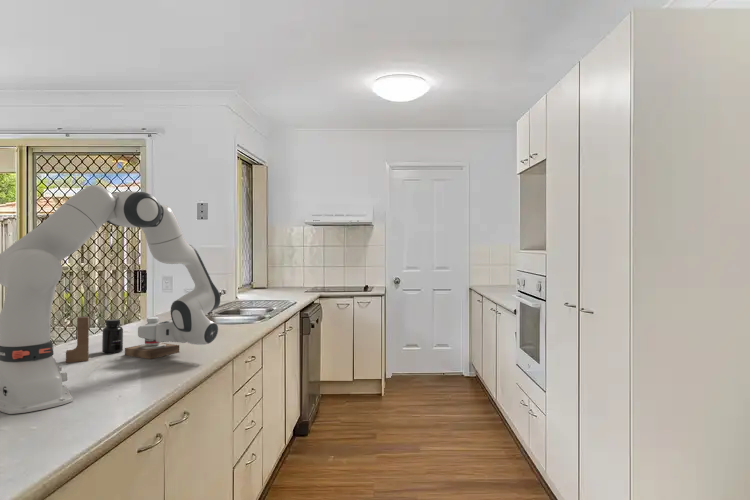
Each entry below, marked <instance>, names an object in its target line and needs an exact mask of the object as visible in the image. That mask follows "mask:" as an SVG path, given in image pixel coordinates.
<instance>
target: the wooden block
mask: <svg viewBox="0 0 750 500" xmlns="http://www.w3.org/2000/svg"><path fill="white" fill-rule="evenodd" d="M89 318H90V317H89V315H88V316H77V319H76V320H77V322H76V323H77V324H76V325H77V326H76V327H77V328H76V329H77V330H76V331H77V332H76V333H77V335H76V337H77V338H76V339H77V340H76V347H75V348H72V349H67V350H66V351H65V363H66V364H69V363H79V362H89V356H90V354H89V353H90V352H89V347H90V346H89V343H90V342H89V340H90V339H89V337H90V336H89V335H90V333H89V332H90V331H89V328H90V327H89V325H90V324H89V322H90V321H89V320H90V319H89Z"/></svg>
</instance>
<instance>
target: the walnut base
mask: <svg viewBox="0 0 750 500" xmlns="http://www.w3.org/2000/svg"><path fill="white" fill-rule="evenodd" d="M177 353H180V344H172V343H167V342H161V343H160V344H158V345H145V343H143V344H138V345H134V346H129V347H124V356H128V357H132V358H134V357H135V358H141V359H147V360H152V359H156V358H161V357H165V356H169V355H173V354H177Z"/></svg>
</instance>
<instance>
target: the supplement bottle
mask: <svg viewBox="0 0 750 500" xmlns="http://www.w3.org/2000/svg"><path fill="white" fill-rule="evenodd" d="M120 325H121V319H118V318H115V319H114V318H112V319H111V318H110V319H106V320H105V327H103V328H102V336H101V337H102V339H101V341H102V342H101V344H102V345H101V346H102V347H101V349H102V350H101V352H102V353H103V354H107V355H108V354H110V355H111V354H119V353H122V352H123V351H124V350H123V348H124V347H123V346H124V328H123V327H122V326H120Z"/></svg>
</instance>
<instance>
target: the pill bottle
mask: <svg viewBox="0 0 750 500" xmlns="http://www.w3.org/2000/svg"><path fill="white" fill-rule="evenodd" d="M159 321H160V318H159V317H156V316H152V317H147V318H146V322H147V323H146V324H145V325H151V324H157V323H160V322H159ZM160 343H162V342H156V340H150V339H144V344H145V345H158V344H160Z"/></svg>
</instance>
